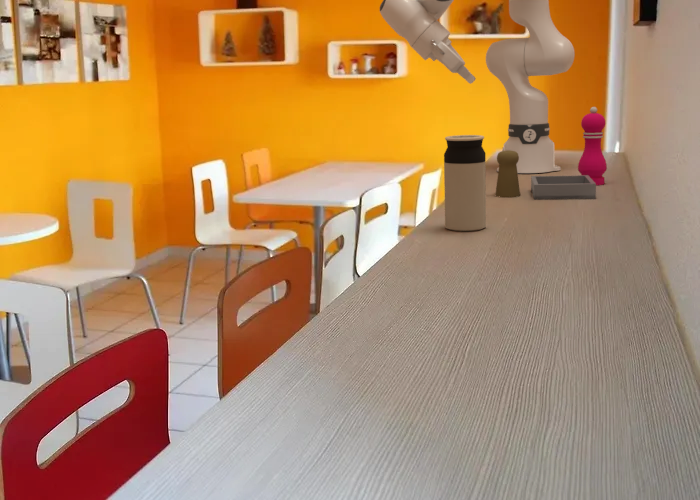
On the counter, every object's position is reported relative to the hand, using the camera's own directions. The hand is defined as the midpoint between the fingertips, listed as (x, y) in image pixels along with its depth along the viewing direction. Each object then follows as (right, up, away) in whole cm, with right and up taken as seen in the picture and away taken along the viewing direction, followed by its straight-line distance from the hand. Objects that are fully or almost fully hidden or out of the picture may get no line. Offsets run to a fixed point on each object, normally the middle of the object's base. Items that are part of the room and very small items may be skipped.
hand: (473, 81), depth 199 cm
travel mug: (-7, -37, -38) cm, 54 cm away
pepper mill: (+33, -24, +14) cm, 43 cm away
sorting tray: (+21, -28, -1) cm, 35 cm away
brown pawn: (+9, -28, +1) cm, 29 cm away
